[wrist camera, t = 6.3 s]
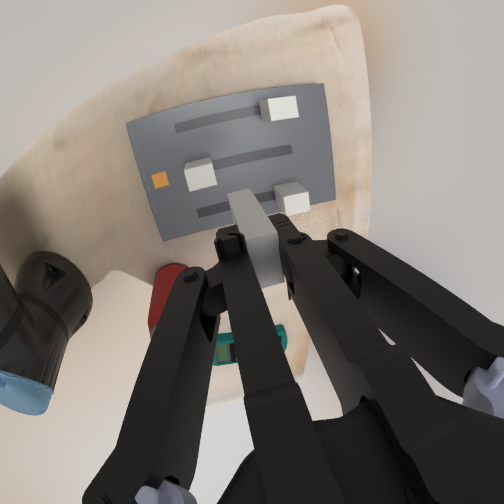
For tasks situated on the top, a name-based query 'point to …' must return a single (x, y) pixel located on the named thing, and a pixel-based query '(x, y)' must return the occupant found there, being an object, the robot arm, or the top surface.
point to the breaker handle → (200, 174)
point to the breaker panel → (236, 155)
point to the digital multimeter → (227, 349)
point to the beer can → (161, 293)
